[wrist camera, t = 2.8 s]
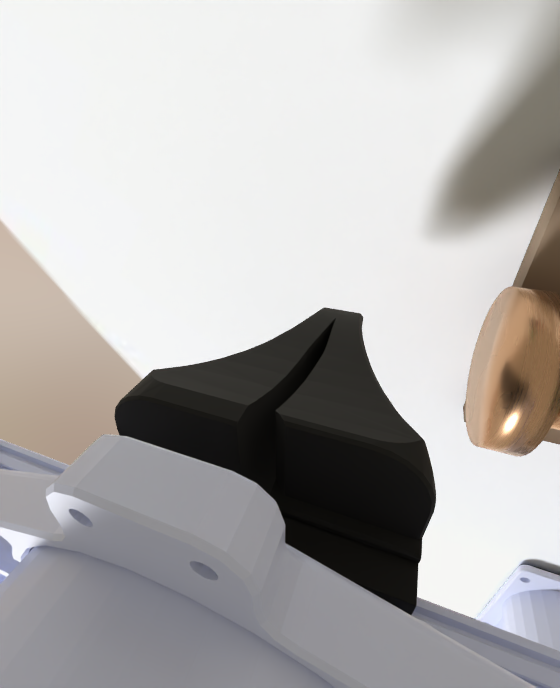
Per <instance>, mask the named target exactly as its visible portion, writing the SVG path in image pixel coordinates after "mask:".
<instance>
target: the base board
mask: <svg viewBox="0 0 560 688" xmlns="http://www.w3.org/2000/svg"><path fill="white" fill-rule="evenodd" d="M512 287H519V288H527V289H535V290H542V291H550V292H555V293H558V294H559V295H560V170H559V172H558V175H557V177H556V180H555V182H554V185H553V187H552V190H551V192H550V195H549V197H548V199H547V202H546V204H545V207H544V209H543V212H542V214H541V217H540V219H539V222H538V224H537V227H536V229H535V231H534V234H533V236H532V239H531V241H530V244H529V246H528V249H527V251H526V254H525V256H524V259H523V261H522V263H521V266H520V268H519V271H518V273H517V276H516V278H515V281H514V283H513V286H512ZM465 407H466V401H465V404H464V406H463V412H464V422H466V415H465ZM543 441H547V442H551V443H556V444H560V430H557V429H553V428H550V430H549V432H548V433H547V435H546V436H545V438H544V439H543Z"/></svg>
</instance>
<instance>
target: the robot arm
mask: <svg viewBox="0 0 560 688" xmlns="http://www.w3.org/2000/svg"><path fill="white" fill-rule="evenodd" d="M362 322H363V316H362V315H361V314H360V313H354V312H348V311H342V310H336V309H330V308H323V309H321V310H320V311H318V312H317V313H315V314H314V315H312V316H311V317H309V318H308V319H306V320H305V321H303V322H301V323H300V324H298V325H297V326H295V327H294V328H292V329H290V330H288V331H286V332H285V333H283V334H281V335H279V336H277V337H276V338H274V339H272V340H270V341H268V342H265V343H263V344H261V345H259V346H256V347H254V348H251V349H249V350H246V351H243V352H240V353H237V354H234V355H230V356H227V357H224V358H221V359H217V360H212V361H208V362H204V363H199V364H194V365H188V366H181V367H173V368H165V369H156V370H153V371H151V372H150V373H149V374H148V375H147V376H146V377H145V378H144V379H143V380H142V381H141V382H140V383H139V384H138V385H136V386H135V387H134V388H133V389H132V390H131V391H130V392H129V393H128V394H127V395H126V396H125V397H124V398H122V399H121V400H120V402H119V403H118V405H117V406H116V409H115V421H116V425H117V429H118V432H119V435H111V434H109V435H108V434H103V435H102V436H101V437H99V438H98V439H97V440H95V441H94V442H93V443H92V444H91V445H90V446H89V447H88V448H87V449H86V450H85V451H84V452H83V453H82V454H81V455H80V456H79V457H78V458H77V459H76V460H75V461H74V462H73V463H72V464H71V465H67V464H65V463H62V462H59V461H57V460H54V459H52V458H49V457H46V456H44V455H41V454H38V453H36V452H33V451H31V450H28V449H25V448H23V447H19V446H17V445H15V444H12V443H9V442H7V441H4V440H2V439H0V688H560V575H557V574H554V573H551V572H547V571H544V570H541V569H538V568H535V567H532V566H529V565H520V566H519V567H517V569H516V570H515V571H514V572H513V574H512V575H511V576H510V577H509V578H508V580H507V581H506V582H505V583H504V585H503V586H502V587H501V588H500V590H499V591H498V592H497V593H496V594H495V596H494V597H493V598H492V599H491V601H490V602H489V603H488V604H487V606H486V607H485V608H484V609H483V610H482V612H481V613H480V614H479V615H478V617H477V618H476V619H473V618H471V617H468V616H465V615H463V614H460V613H458V612H455V611H452V610H450V609H447V608H444V607H442V606H439V605H437V604H434V603H431V602H429V601H426V600H423V599H421V598H418V597H417V580H418V563H419V562H420V560H421V553H422V537H423V535H424V533H425V530H426V528H427V526H428V524H429V521H430V519H431V517H432V514H433V512H434V508H435V503H436V490H435V482H434V476H433V470H432V466H431V462H430V458H429V454H428V451H427V447H426V444H425V441H424V440H423V439H422V438H421V437H420V436H419V435H418V433H417V432H416V431H415V430H414V429H413V428H412V427H411V426H410V425H409V424H408V423H407V422H406V421H405V420H404V419H403V418H402V417H401V416H400V414H399V413H398V412H397V411H396V409H395V408H394V406H393V405H392V404H391V402H390V401H389V399H388V398H387V396H386V395H385V393H384V392H383V390H382V388H381V386H380V384H379V383H378V381H377V379H376V377H375V374H374V372H373V370H372V368H371V365H370V362H369V359H368V356H367V353H366V350H365V346H364V341H363V336H362Z"/></svg>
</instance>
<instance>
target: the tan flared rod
mask: <svg viewBox="0 0 560 688" xmlns="http://www.w3.org/2000/svg"><path fill="white" fill-rule="evenodd" d="M465 415H466V427H467V432H468V436H469V438H470V440H471V442H472V443H473V444H474V445H475V446H478V447H482V448H486V449H490V450H494V451H498V452H502V453H505V454H509V455H513V456H524V455H527V454H528V453H530V452H532V451H533V450H534V449H535V448H536V447H537V446H538V445H539V444H540V443H541V442H542V441H543V439H544V438H545V436H546V435H547V433H548V432H549V430H550V428H553V429H557V430H560V295H559V294H558V293H555V292H550V291H542V290H535V289H527V288H519V287H508V288H506V289H504V290H503V291H502V292H501V293H500V294H499V295H498V297H497V298H496V300H495V301H494V303H493V304H492V306H491V308H490V310H489V312H488V314H487V316H486V318H485V320H484V323H483V325H482V328H481V331H480V333H479V336H478V340H477V343H476V346H475V350H474V353H473V357H472V362H471V366H470V372H469V377H468V384H467V392H466V407H465Z"/></svg>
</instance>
